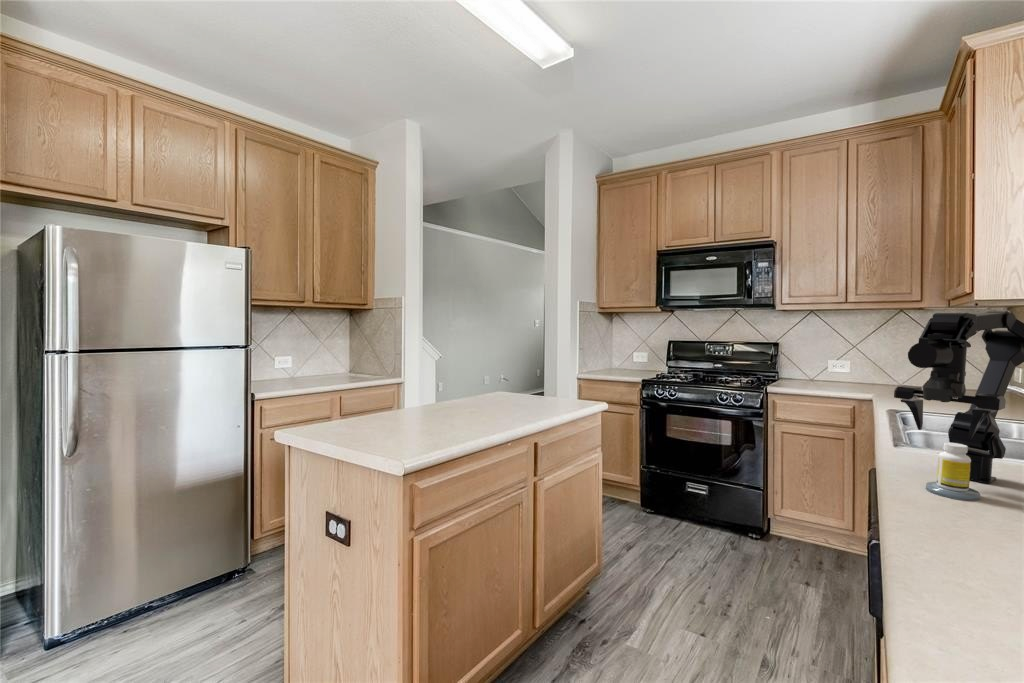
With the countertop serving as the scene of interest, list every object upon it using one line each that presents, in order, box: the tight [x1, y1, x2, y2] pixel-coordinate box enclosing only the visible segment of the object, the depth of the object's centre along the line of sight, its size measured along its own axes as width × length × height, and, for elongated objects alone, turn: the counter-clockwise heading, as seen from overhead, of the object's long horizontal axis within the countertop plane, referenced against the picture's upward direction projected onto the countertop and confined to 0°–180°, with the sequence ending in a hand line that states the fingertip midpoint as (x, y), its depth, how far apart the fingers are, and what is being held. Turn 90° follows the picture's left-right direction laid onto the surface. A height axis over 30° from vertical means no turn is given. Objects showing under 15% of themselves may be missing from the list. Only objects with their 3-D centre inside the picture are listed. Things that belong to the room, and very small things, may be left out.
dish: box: [925, 481, 981, 502], centre depth 110 cm, size 9×9×1 cm
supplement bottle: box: [936, 442, 971, 492], centre depth 110 cm, size 5×5×10 cm
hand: (944, 433), depth 115 cm, fingers open, 9 cm apart
